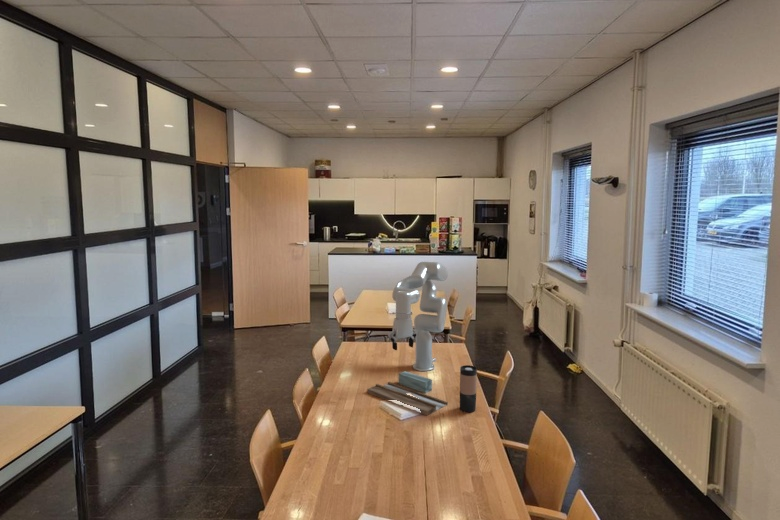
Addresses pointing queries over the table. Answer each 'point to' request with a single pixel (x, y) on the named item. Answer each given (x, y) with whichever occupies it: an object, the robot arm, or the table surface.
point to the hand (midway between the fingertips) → (403, 348)
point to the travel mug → (468, 388)
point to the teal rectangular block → (415, 382)
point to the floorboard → (407, 397)
